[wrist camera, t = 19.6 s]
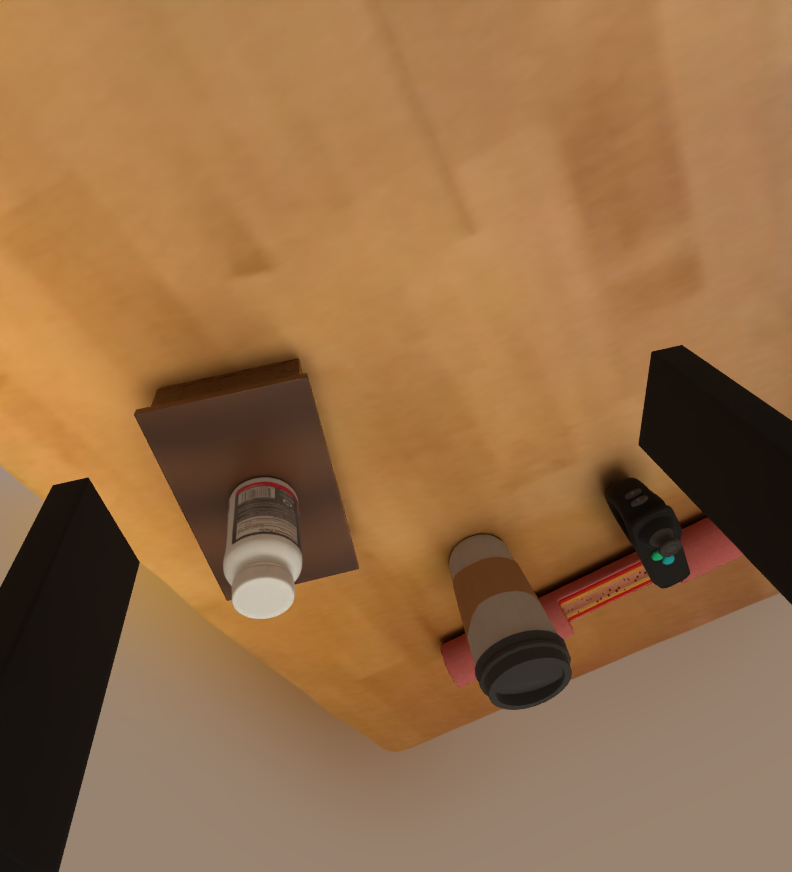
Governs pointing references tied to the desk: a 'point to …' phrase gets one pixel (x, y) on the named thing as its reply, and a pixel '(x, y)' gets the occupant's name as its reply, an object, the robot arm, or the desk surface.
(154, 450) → the stand
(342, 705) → the desk surface
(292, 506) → the pill bottle
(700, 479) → the robot arm
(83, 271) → the desk surface
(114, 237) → the desk surface
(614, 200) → the desk surface
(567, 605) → the blood vessel
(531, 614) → the coffee cup
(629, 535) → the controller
